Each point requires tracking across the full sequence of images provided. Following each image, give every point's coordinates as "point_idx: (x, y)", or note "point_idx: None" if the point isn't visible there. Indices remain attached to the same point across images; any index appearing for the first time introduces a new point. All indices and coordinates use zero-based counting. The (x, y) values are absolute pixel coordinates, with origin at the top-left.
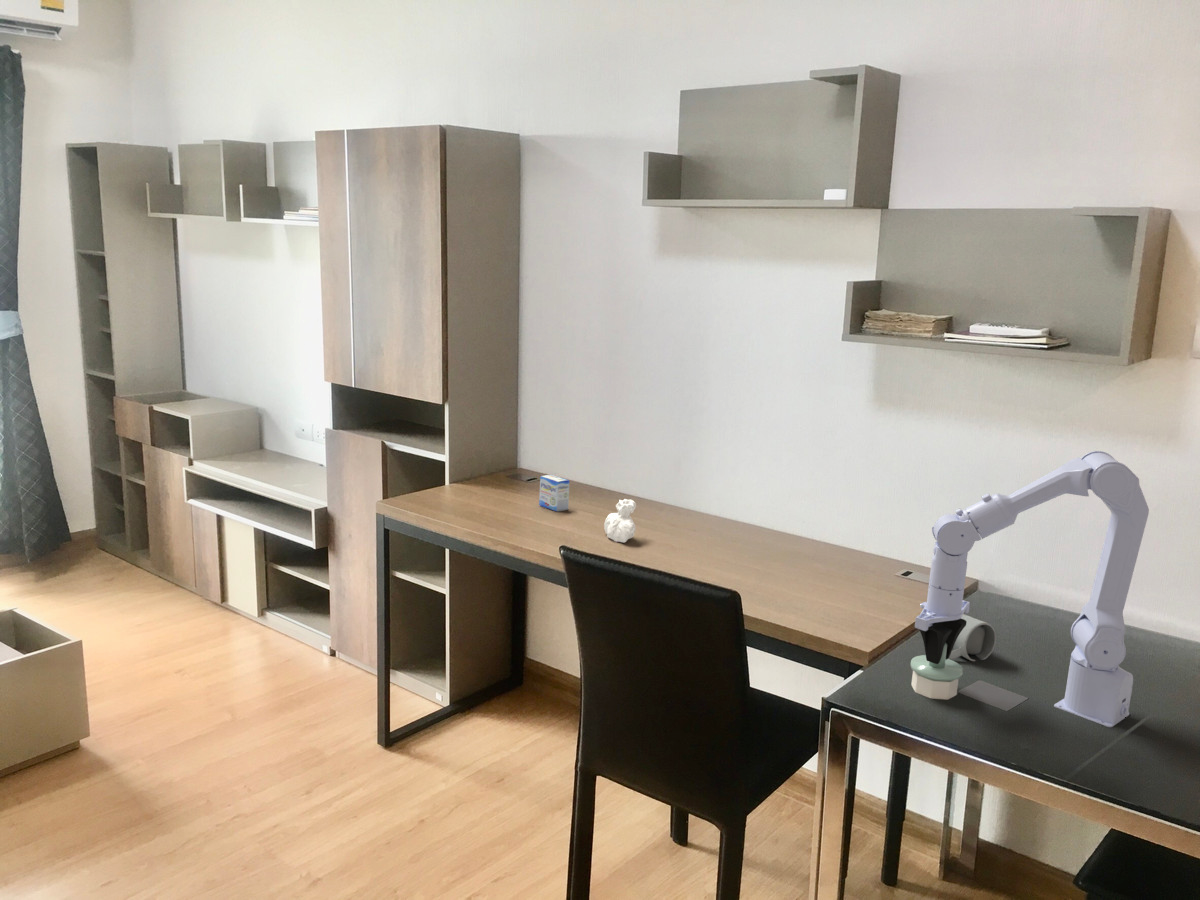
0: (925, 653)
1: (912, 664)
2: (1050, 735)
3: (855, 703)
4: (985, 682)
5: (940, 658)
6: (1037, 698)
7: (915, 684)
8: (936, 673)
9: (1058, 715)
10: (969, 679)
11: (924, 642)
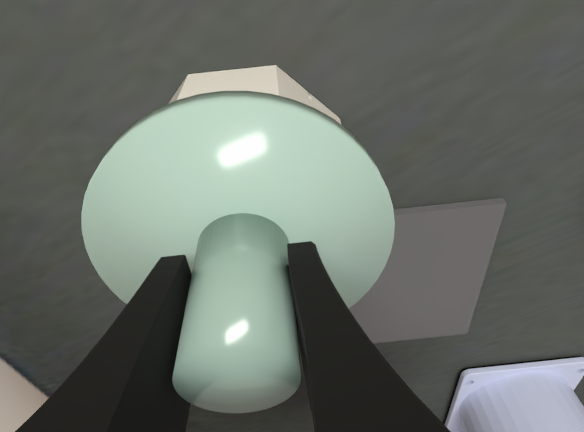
0: (140, 286)
1: (94, 177)
2: (305, 414)
3: None
4: (496, 226)
5: None
6: (499, 329)
7: None
8: None
9: (427, 383)
10: (502, 163)
11: (78, 374)
